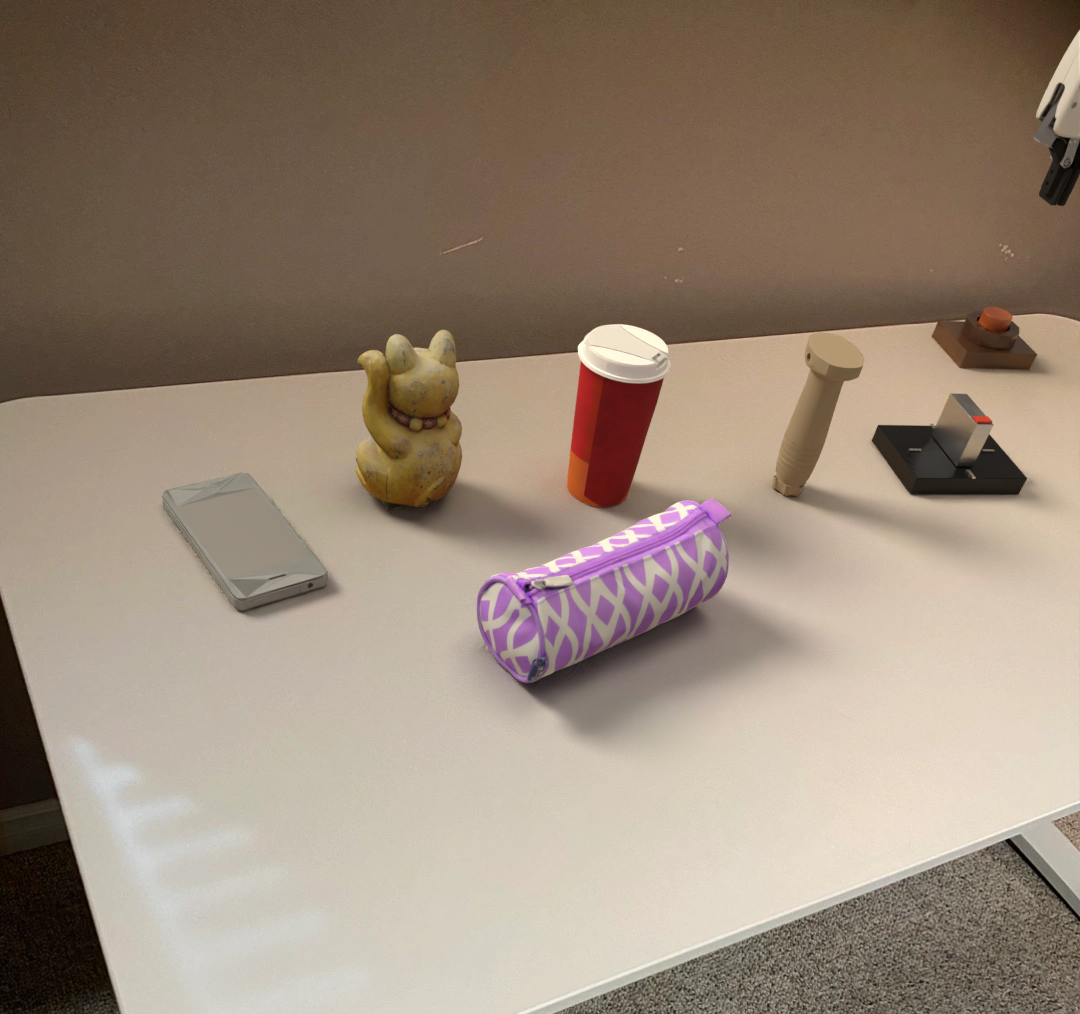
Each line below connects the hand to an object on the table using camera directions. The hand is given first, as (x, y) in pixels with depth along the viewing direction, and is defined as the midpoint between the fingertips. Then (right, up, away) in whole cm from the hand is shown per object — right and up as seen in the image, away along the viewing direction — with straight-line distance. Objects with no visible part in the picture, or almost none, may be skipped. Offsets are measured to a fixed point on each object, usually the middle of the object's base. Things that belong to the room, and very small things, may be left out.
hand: (1051, 200), depth 124 cm
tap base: (-15, -32, -8) cm, 36 cm away
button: (-2, -11, +11) cm, 15 cm away
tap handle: (-15, -31, -9) cm, 35 cm away
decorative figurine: (-70, -39, -24) cm, 84 cm away
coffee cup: (-53, -37, -20) cm, 68 cm away
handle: (-34, -36, -15) cm, 52 cm away
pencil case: (-54, -52, -34) cm, 82 cm away
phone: (-84, -45, -33) cm, 100 cm away
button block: (-3, -13, +13) cm, 19 cm away
